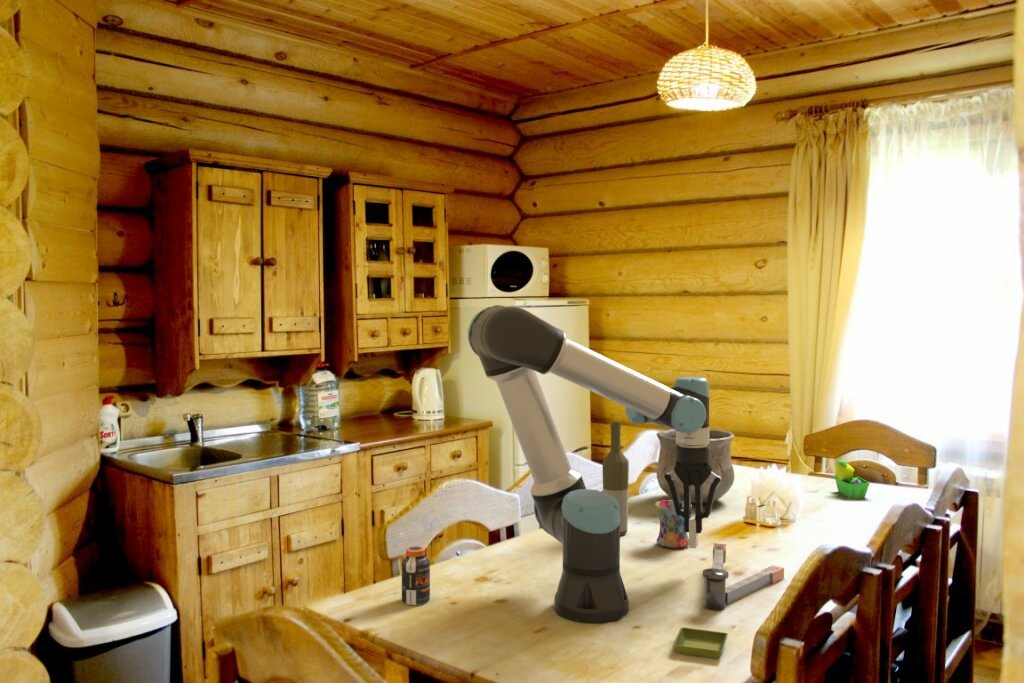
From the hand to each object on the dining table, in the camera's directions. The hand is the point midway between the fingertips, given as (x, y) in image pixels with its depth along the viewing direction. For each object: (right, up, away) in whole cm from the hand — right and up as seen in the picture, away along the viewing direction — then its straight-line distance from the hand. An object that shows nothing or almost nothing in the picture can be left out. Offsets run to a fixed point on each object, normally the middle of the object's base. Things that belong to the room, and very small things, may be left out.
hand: (693, 546), depth 193 cm
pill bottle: (-62, -8, -16) cm, 64 cm away
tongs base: (+8, -7, -13) cm, 17 cm away
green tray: (-8, -9, -41) cm, 42 cm away
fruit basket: (+66, -2, +75) cm, 100 cm away
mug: (+1, -5, +23) cm, 24 cm away
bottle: (-14, -5, +33) cm, 36 cm away
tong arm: (+4, -4, -7) cm, 9 cm away
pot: (+15, -3, +68) cm, 70 cm away
